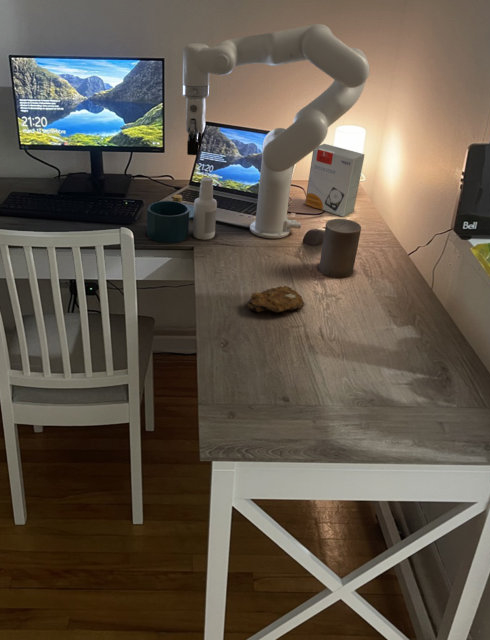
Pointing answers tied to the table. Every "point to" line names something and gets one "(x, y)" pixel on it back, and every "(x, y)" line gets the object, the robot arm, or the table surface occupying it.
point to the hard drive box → (334, 179)
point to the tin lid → (179, 199)
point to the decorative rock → (276, 300)
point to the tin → (168, 221)
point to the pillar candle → (339, 247)
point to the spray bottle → (205, 211)
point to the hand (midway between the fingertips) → (194, 149)
